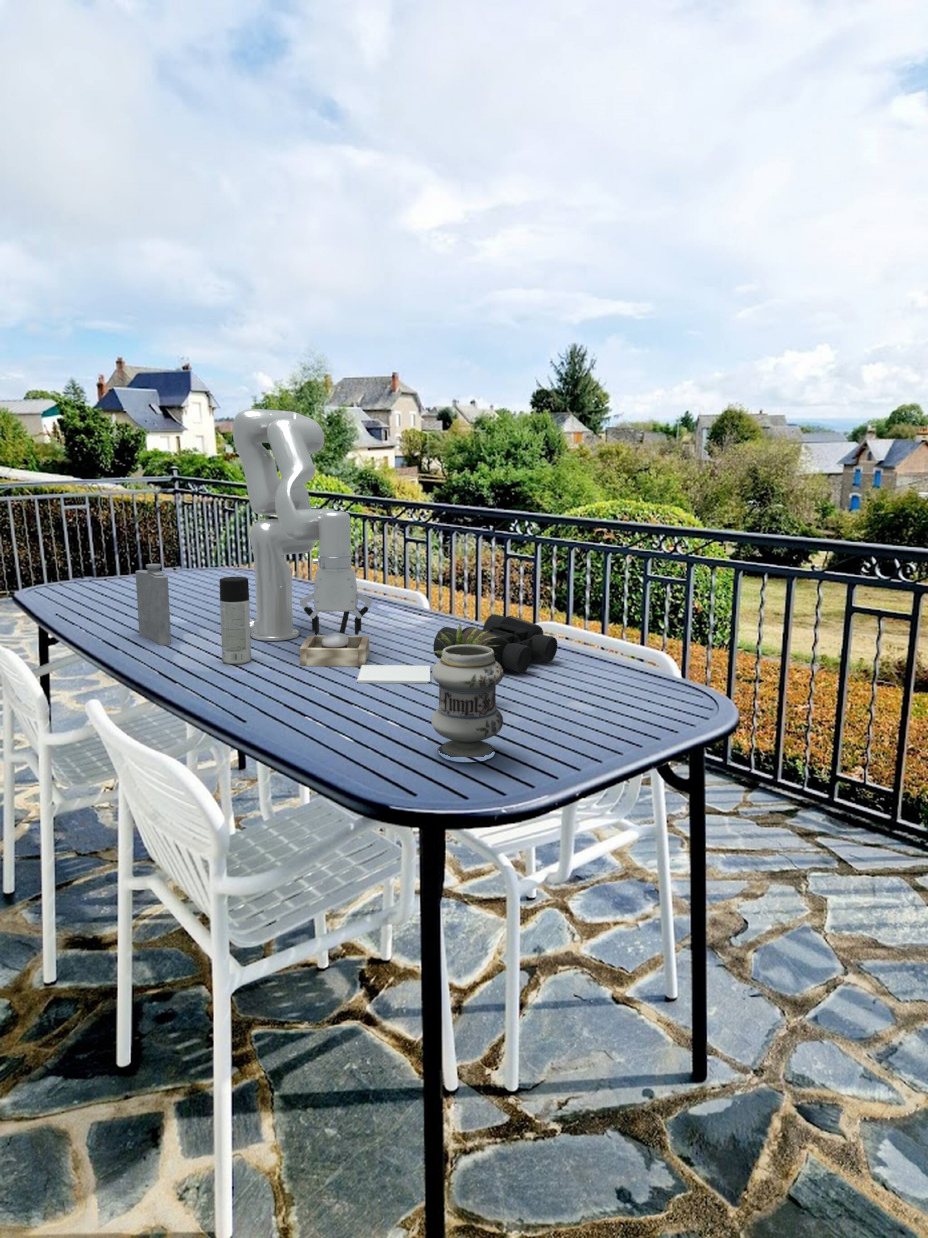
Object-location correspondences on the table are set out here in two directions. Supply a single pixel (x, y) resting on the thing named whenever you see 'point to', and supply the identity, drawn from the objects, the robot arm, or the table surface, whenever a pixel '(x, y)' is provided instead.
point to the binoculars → (507, 641)
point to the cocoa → (337, 636)
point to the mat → (393, 674)
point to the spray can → (235, 620)
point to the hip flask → (153, 604)
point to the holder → (334, 652)
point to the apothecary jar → (467, 700)
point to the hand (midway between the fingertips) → (336, 633)
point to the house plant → (460, 639)
